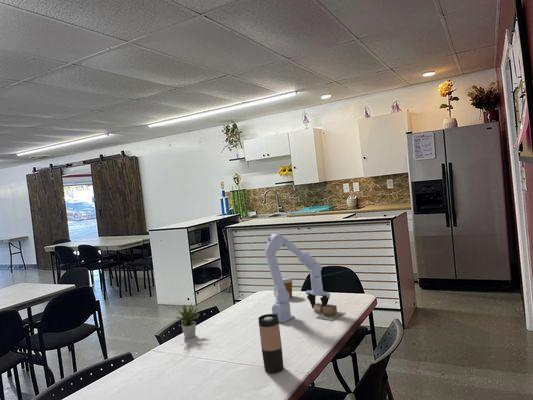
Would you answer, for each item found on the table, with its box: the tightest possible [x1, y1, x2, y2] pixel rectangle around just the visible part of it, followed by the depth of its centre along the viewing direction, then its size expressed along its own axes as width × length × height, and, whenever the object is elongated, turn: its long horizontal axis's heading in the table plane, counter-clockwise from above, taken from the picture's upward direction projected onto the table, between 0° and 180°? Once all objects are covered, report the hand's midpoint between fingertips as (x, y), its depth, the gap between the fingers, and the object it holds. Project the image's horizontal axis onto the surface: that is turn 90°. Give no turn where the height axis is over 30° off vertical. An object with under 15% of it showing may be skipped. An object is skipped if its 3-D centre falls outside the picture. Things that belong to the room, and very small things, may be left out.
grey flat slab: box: [315, 311, 346, 322], centre depth 200 cm, size 12×10×1 cm
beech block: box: [313, 302, 323, 314], centre depth 209 cm, size 4×4×4 cm
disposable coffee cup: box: [282, 275, 293, 299], centre depth 243 cm, size 10×10×12 cm
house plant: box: [175, 303, 202, 339], centre depth 193 cm, size 14×14×16 cm
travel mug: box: [257, 313, 284, 375], centre depth 148 cm, size 8×8×20 cm
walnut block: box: [322, 303, 338, 317], centre depth 200 cm, size 5×5×4 cm
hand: (319, 309), depth 209 cm, fingers open, 6 cm apart
